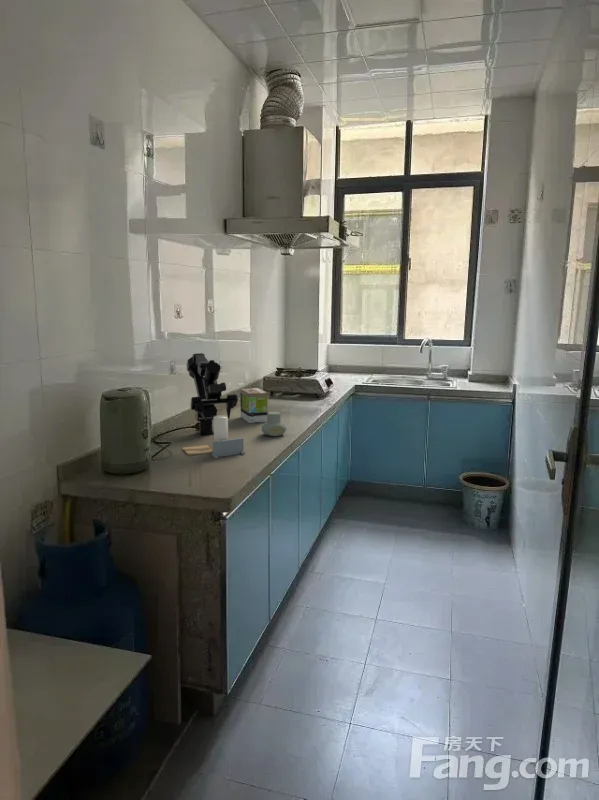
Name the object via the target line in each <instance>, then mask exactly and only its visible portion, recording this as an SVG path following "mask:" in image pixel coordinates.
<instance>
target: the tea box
mask: <svg viewBox="0 0 599 800" xmlns="http://www.w3.org/2000/svg"><path fill="white" fill-rule="evenodd" d="M239 392H240V395H239V396H240V398H239V399H240V417H241V419H243V420H244V421H245V422H246V423H248V424H256V423H255V422H259V423H266V422H267V413H268V412H269V411H268V407H269V406H268V404H269V403H268V392H267V391H265V390H263V389H261V388H259V387H253V388H240V391H239Z"/></svg>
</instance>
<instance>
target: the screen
mask: <svg viewBox="0 0 599 800" xmlns="http://www.w3.org/2000/svg"><path fill="white" fill-rule="evenodd" d="M212 450H213V453H211V456H212V457H213V458H214V457H215V458H214V459H218V458H219V457H218V456H220V457H225V456H226V457H229V456H233V455H234V454H235V455H246V451H245V449H244V438H243V437H238V438H230V439H229V438H228V440H220V441H214V440H212Z"/></svg>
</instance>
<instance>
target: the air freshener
mask: <svg viewBox="0 0 599 800" xmlns="http://www.w3.org/2000/svg"><path fill="white" fill-rule="evenodd" d="M281 414H282V413H281V412H280V411H268V413H267V422H263V424H262V425H261V432H262V433H263V434H264V435H266V436H269V437H272V436H277V437H279V436H282V435H284V434H285V433H286V432H287V426H286V424H285V423H284V422H282V420H281V419H282V418H281V416H282V415H281Z"/></svg>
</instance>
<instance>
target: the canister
mask: <svg viewBox="0 0 599 800" xmlns="http://www.w3.org/2000/svg"><path fill="white" fill-rule="evenodd" d="M212 421H213V431H214V434H213V441H220V440H228V439H229V419H228V416H227V415H217V416H214V417H213V420H212Z"/></svg>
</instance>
